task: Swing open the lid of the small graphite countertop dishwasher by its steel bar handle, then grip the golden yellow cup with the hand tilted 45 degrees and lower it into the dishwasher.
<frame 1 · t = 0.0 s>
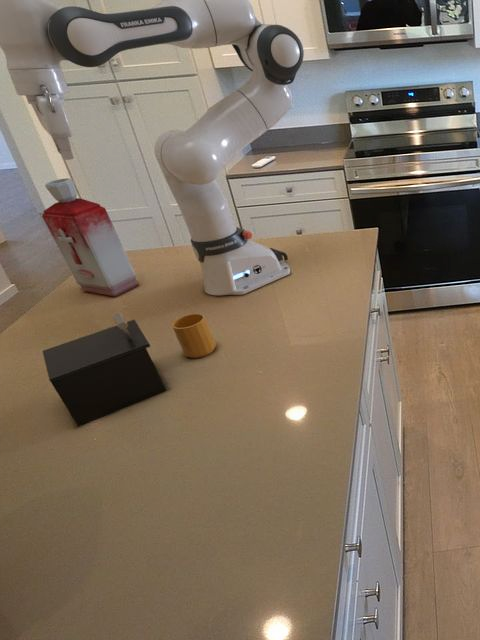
hand: (66, 156, 122), 39 cm above the worktop, tool pointing down, fingers open, 8 cm apart
golden yellow cup: (201, 351, 124), on the worktop
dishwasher: (117, 392, 113), on the worktop
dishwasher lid: (91, 339, 107), point 12 cm above the worktop, hinge at 0.0°
bottle: (111, 289, 159), on the worktop
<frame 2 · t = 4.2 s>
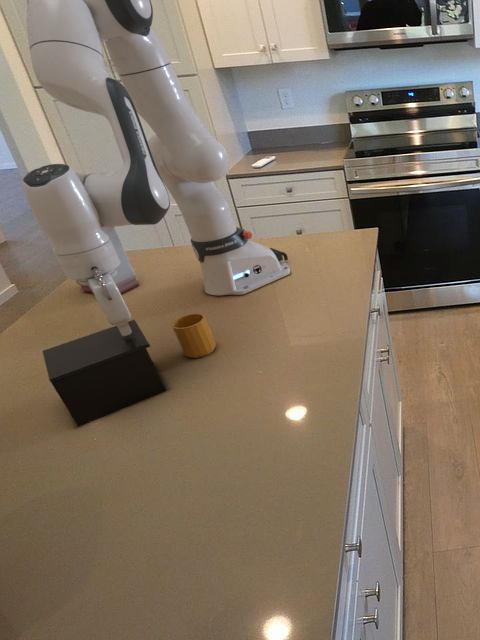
hand: (123, 327, 109), 12 cm above the worktop, tool pointing down, fingers closed on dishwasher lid, 5 cm apart
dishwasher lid: (91, 339, 107), point 12 cm above the worktop, hinge at -0.1°, touching gripper
everything else where it was.
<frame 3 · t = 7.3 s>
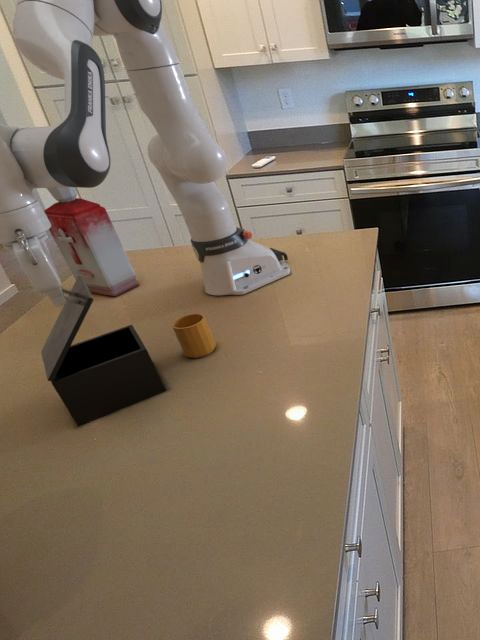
hand: (59, 298, 101), 21 cm above the worktop, tool pointing down, fingers closed on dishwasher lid, 5 cm apart
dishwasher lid: (53, 323, 102), point 18 cm above the worktop, hinge at 45.8°, touching gripper
everything else where it was.
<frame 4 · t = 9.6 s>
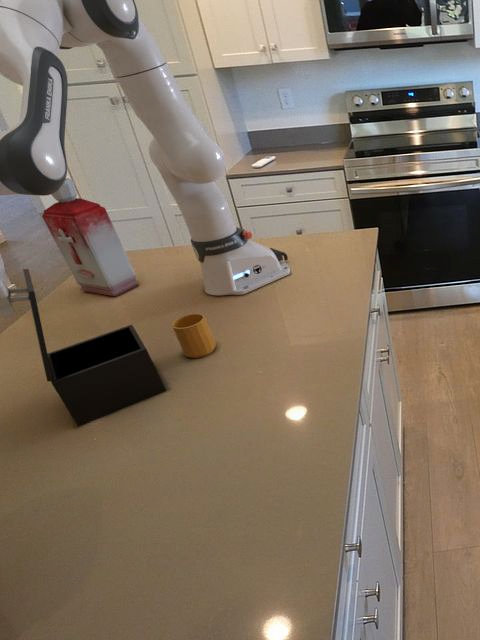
hand: (9, 309, 97), 22 cm above the worktop, tool pointing down, fingers closed on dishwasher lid, 5 cm apart
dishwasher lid: (23, 325, 99), point 19 cm above the worktop, hinge at 74.8°, touching gripper
everything else where it was.
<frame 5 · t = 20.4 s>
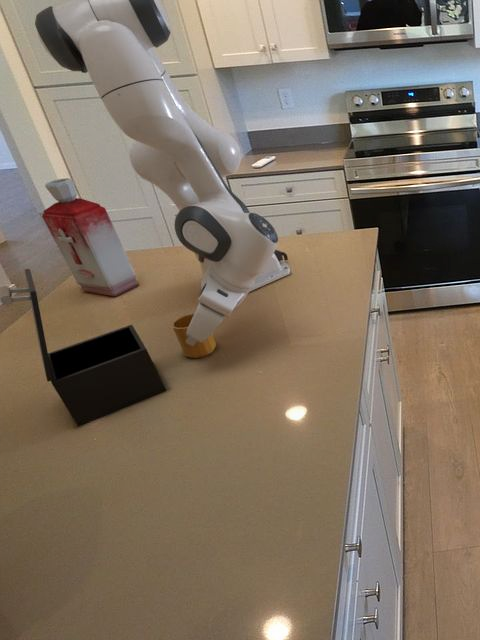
hand: (194, 333, 122), 4 cm above the worktop, tool tilted 45°, fingers closed on golden yellow cup, 6 cm apart
golden yellow cup: (201, 351, 124), on the worktop, touching gripper
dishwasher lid: (24, 325, 99), point 19 cm above the worktop, hinge at 74.1°
everything else where it was.
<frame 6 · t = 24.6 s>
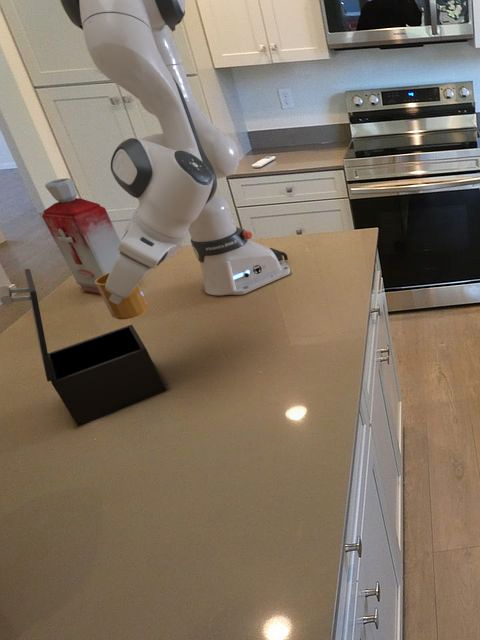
hand: (122, 292, 108), 19 cm above the worktop, tool tilted 45°, fingers closed on golden yellow cup, 6 cm apart
golden yellow cup: (131, 312, 111), point 14 cm above the worktop, touching gripper
everything else where it was.
when the fingers open (9 cm above the worktop, at t = 29.1 s): golden yellow cup drops 4 cm, resting on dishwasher.
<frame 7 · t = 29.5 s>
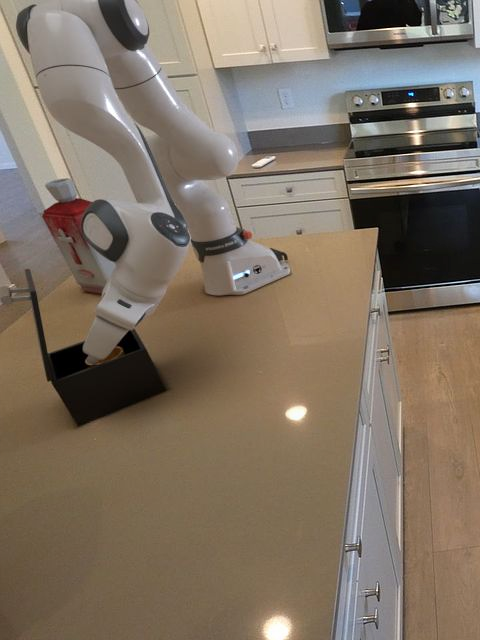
hand: (101, 348, 108), 10 cm above the worktop, tool tilted 45°, fingers open, 8 cm apart
golden yellow cup: (121, 387, 113), point 1 cm above the worktop, touching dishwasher
everything else where it was.
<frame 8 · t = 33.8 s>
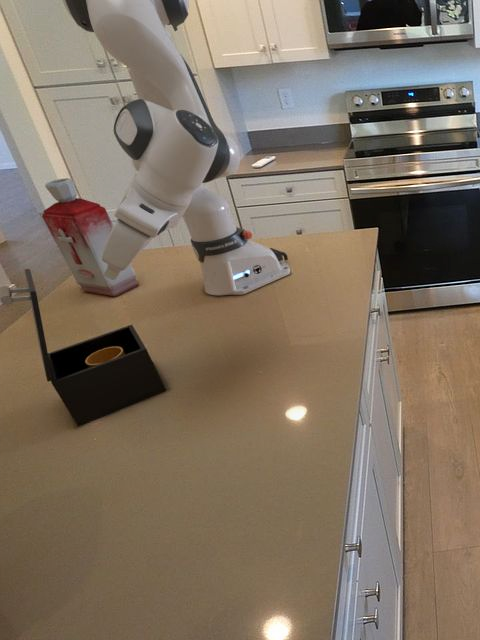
hand: (120, 265, 101), 25 cm above the worktop, tool tilted 45°, fingers open, 8 cm apart
nothing on the worktop moved.
at the end: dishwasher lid at +74° (first picture: +0°); golden yellow cup inside the target area in the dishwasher (1.0 cm from its centre), point 0.8 cm above the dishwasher's base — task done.
